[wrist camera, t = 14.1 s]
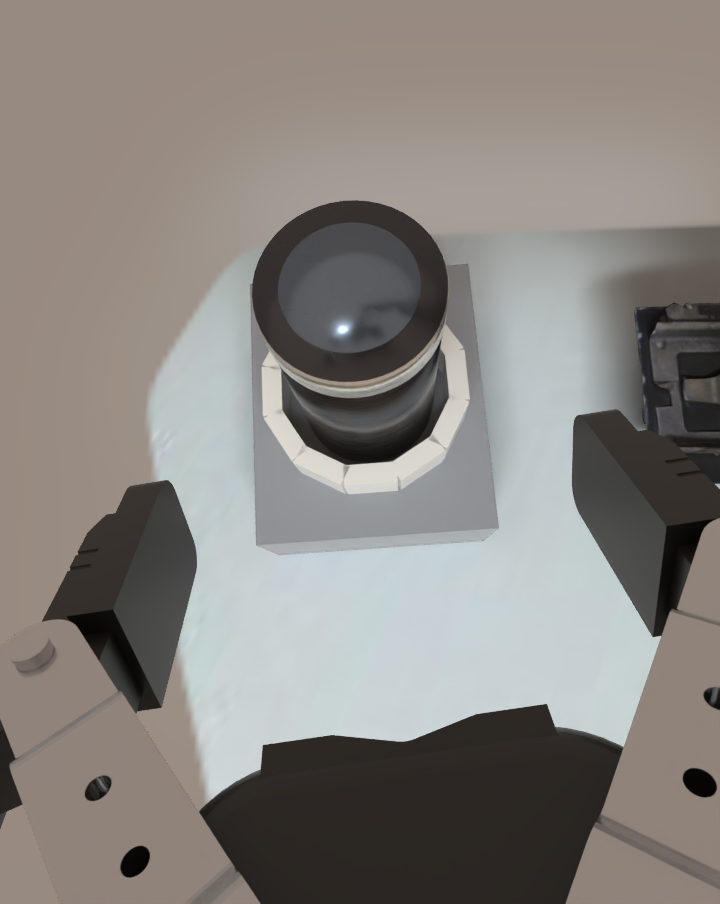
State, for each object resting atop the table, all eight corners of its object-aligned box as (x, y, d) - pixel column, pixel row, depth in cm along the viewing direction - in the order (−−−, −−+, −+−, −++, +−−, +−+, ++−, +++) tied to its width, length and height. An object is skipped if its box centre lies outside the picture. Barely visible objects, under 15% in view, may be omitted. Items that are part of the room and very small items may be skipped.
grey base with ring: (458, 313, 33) (472, 238, 27) (483, 540, 30) (506, 521, 24) (272, 330, 34) (239, 261, 27) (279, 554, 31) (244, 540, 24)
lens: (427, 335, 28) (440, 189, 18) (439, 458, 26) (459, 371, 17) (302, 346, 28) (247, 207, 18) (307, 468, 27) (251, 388, 17)
